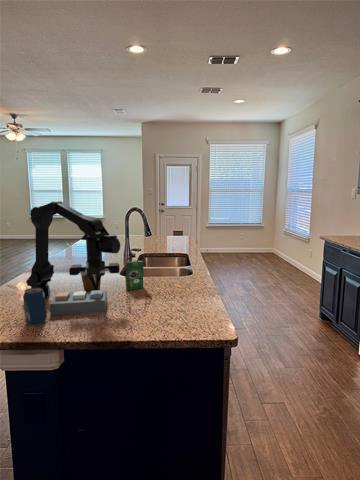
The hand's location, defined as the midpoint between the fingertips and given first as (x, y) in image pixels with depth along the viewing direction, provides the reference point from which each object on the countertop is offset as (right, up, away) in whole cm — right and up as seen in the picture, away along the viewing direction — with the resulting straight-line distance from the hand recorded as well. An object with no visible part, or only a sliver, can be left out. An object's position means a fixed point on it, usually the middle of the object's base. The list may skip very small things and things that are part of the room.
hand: (96, 289), depth 125 cm
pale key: (-6, -5, 0) cm, 8 cm away
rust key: (-13, -5, -1) cm, 14 cm away
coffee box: (+12, -3, +23) cm, 26 cm away
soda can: (-18, -10, -13) cm, 24 cm away
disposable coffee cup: (-6, -5, +15) cm, 17 cm away
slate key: (0, -5, +1) cm, 5 cm away
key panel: (-6, -7, 0) cm, 10 cm away
